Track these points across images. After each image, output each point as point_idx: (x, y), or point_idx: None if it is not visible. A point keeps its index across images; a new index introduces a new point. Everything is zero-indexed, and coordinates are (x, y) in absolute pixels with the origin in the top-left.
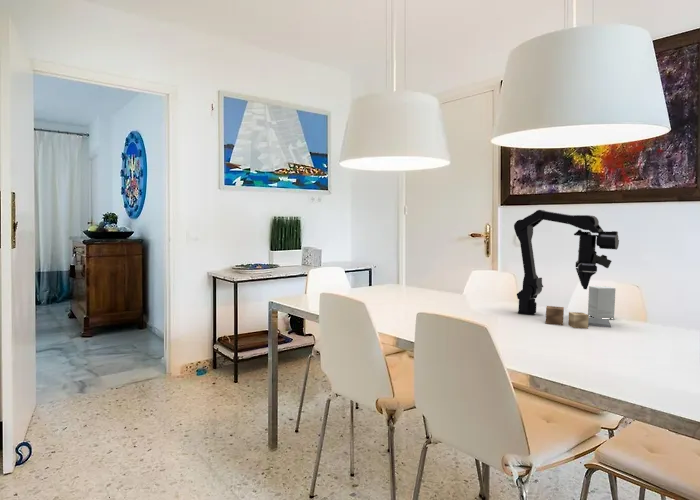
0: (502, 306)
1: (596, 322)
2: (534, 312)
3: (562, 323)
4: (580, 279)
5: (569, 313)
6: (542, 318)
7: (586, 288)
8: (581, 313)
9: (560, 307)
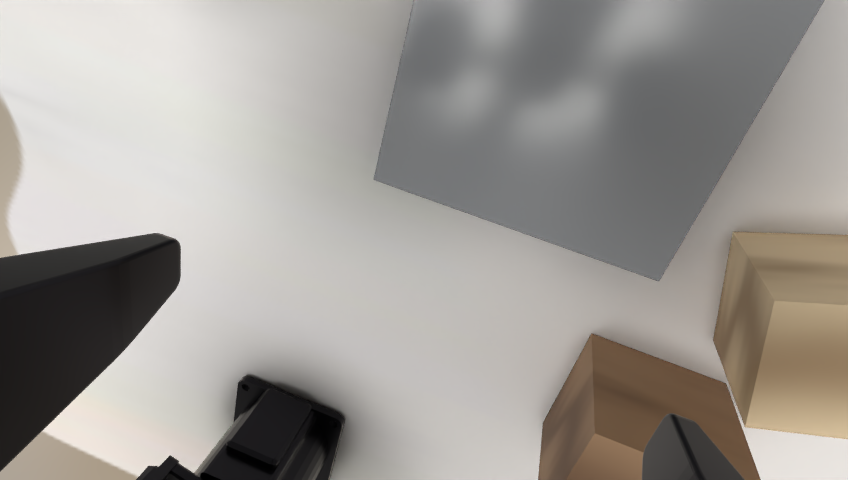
0: (114, 462)
1: (706, 77)
2: (310, 413)
3: (727, 398)
4: (54, 401)
5: (762, 421)
6: (450, 408)
7: (699, 441)
8: (839, 340)
9: (619, 468)
